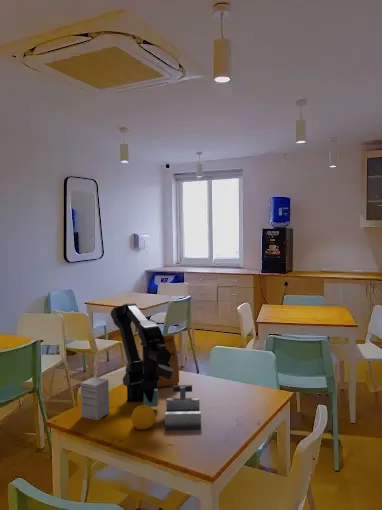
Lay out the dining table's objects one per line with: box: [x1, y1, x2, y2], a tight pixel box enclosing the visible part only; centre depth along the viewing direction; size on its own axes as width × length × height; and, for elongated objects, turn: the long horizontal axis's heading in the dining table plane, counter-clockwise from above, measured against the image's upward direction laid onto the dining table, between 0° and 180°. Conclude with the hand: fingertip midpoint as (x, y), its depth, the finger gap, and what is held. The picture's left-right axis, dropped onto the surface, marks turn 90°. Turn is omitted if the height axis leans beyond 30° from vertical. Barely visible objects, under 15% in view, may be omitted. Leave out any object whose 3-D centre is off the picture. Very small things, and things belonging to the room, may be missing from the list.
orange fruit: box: [130, 404, 156, 430], centre depth 145 cm, size 8×8×8 cm
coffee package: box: [153, 334, 180, 388], centre depth 188 cm, size 10×12×22 cm
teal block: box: [143, 388, 159, 408], centre depth 160 cm, size 5×4×6 cm
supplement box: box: [80, 377, 110, 421], centre depth 156 cm, size 7×7×13 cm
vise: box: [164, 408, 202, 431], centre depth 152 cm, size 12×18×5 cm, turn 1°
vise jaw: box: [166, 384, 200, 411], centre depth 159 cm, size 12×6×7 cm, turn 91°
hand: (150, 400), depth 160 cm, fingers closed on teal block, 4 cm apart
